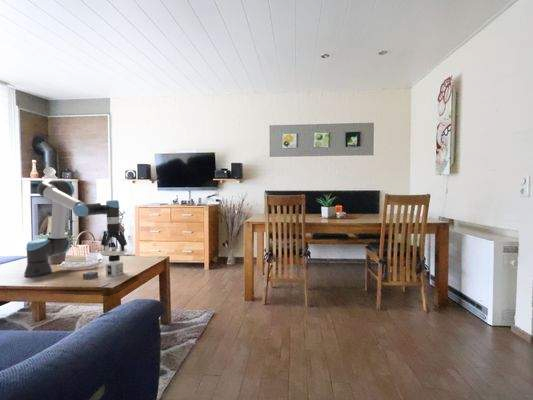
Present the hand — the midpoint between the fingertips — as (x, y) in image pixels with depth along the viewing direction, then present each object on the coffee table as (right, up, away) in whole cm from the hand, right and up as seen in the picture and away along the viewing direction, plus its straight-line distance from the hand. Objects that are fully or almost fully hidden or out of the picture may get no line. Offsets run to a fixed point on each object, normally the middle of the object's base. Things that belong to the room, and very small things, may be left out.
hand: (114, 255), depth 204 cm
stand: (-12, -13, -7) cm, 19 cm away
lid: (0, +1, 0) cm, 2 cm away
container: (0, -13, 0) cm, 13 cm away
